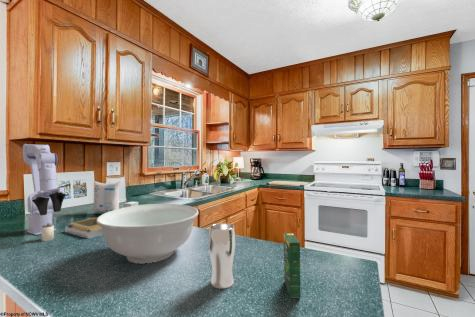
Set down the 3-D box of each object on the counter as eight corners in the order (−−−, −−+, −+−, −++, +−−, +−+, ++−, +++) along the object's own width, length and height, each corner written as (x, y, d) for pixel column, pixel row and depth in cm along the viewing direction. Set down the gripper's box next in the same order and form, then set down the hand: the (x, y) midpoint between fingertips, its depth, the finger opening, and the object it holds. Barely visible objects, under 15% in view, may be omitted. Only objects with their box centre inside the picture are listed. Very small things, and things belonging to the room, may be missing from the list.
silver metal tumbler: (209, 276, 67) (209, 223, 67) (234, 275, 67) (234, 222, 67) (208, 290, 60) (208, 230, 60) (236, 289, 60) (235, 229, 60)
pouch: (112, 217, 135) (112, 182, 135) (88, 214, 142) (88, 181, 142) (124, 214, 142) (123, 180, 142) (100, 212, 149) (100, 180, 149)
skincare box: (131, 229, 112) (130, 203, 112) (123, 228, 113) (122, 203, 113) (138, 225, 118) (138, 201, 118) (131, 225, 119) (131, 201, 119)
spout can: (39, 240, 98) (39, 223, 98) (51, 237, 101) (51, 221, 101) (44, 241, 96) (44, 225, 96) (55, 238, 99) (55, 222, 99)
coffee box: (283, 280, 64) (283, 232, 64) (294, 280, 64) (293, 232, 64) (288, 298, 56) (288, 242, 56) (301, 298, 56) (300, 242, 56)
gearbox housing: (65, 232, 108) (65, 223, 108) (98, 224, 121) (98, 216, 121) (87, 238, 99) (87, 229, 99) (120, 229, 112) (120, 220, 112)
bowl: (174, 282, 64) (173, 227, 64) (70, 272, 70) (70, 222, 70) (209, 241, 96) (209, 204, 96) (136, 236, 102) (136, 202, 101)
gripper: (25, 184, 98) (26, 217, 96) (51, 176, 95) (53, 211, 92) (43, 184, 105) (45, 215, 103) (68, 177, 102) (70, 209, 99)
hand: (50, 213), depth 98 cm, fingers open, 7 cm apart
